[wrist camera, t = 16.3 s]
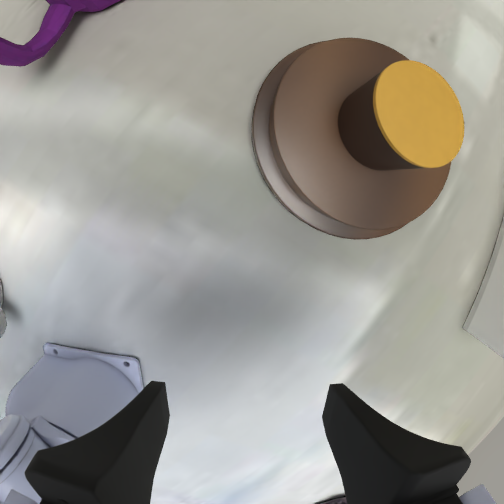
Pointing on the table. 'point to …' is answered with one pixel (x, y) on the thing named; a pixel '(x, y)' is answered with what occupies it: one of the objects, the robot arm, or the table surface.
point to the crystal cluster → (337, 501)
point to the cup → (2, 314)
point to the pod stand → (332, 144)
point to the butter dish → (490, 302)
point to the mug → (48, 31)
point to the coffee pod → (402, 119)
